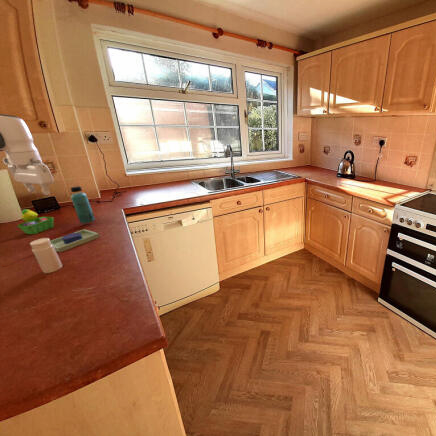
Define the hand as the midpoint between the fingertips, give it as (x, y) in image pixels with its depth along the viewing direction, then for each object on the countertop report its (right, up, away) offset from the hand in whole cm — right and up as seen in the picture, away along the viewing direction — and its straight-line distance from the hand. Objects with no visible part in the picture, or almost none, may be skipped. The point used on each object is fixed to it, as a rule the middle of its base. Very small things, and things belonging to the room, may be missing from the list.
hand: (40, 193), depth 99 cm
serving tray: (+5, -21, +10) cm, 23 cm away
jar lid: (+5, -18, +8) cm, 21 cm away
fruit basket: (-25, -16, +23) cm, 38 cm away
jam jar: (+16, -29, -11) cm, 34 cm away
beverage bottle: (-5, -13, +29) cm, 33 cm away
